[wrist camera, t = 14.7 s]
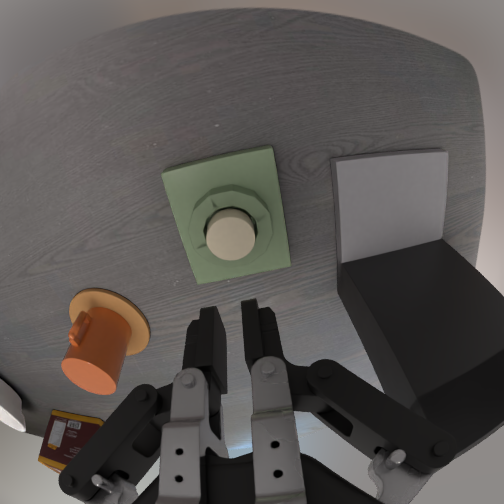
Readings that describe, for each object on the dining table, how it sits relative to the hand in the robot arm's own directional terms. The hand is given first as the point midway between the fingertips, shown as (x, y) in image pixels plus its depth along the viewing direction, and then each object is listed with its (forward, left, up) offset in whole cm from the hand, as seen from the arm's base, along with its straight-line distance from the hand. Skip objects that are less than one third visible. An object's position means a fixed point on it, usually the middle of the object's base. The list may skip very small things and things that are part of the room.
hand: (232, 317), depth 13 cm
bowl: (+28, -69, -13) cm, 76 cm away
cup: (+10, -18, -12) cm, 24 cm away
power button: (0, 0, -10) cm, 10 cm away
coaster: (+10, -18, -13) cm, 24 cm away
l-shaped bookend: (+4, +16, -13) cm, 21 cm away
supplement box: (+41, -46, -13) cm, 63 cm away
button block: (0, 0, -13) cm, 13 cm away
